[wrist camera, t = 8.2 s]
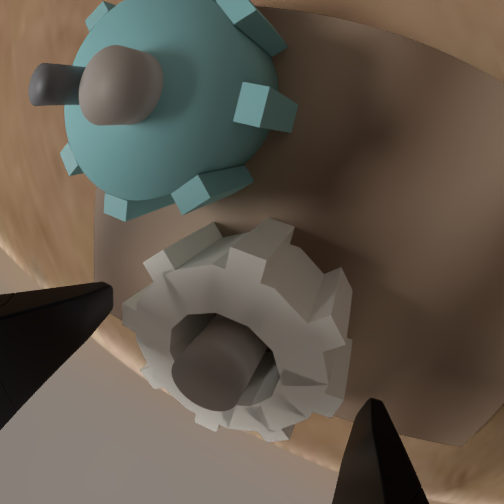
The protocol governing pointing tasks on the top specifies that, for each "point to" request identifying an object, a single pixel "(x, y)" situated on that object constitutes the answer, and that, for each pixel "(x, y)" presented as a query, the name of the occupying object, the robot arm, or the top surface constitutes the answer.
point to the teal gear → (175, 103)
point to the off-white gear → (249, 323)
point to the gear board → (350, 217)
